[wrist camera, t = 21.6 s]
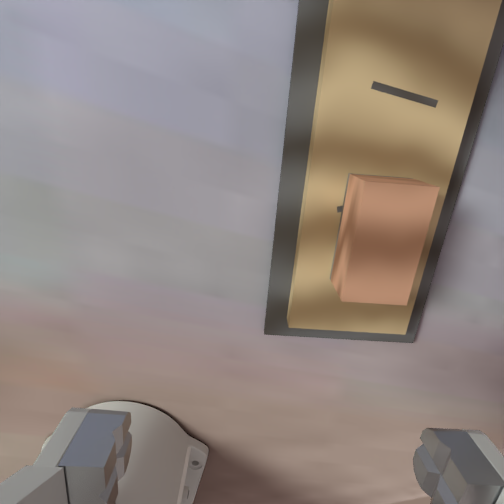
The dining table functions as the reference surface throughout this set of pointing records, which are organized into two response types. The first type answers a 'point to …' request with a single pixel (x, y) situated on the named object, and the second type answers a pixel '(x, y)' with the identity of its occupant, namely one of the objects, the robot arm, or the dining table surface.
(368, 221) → the block
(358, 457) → the dining table surface
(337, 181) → the plank
